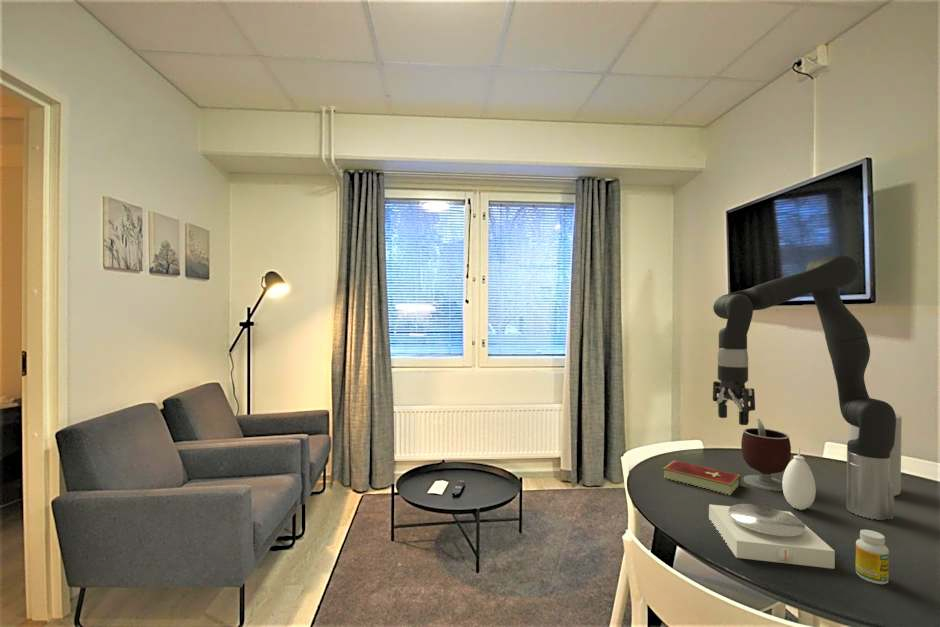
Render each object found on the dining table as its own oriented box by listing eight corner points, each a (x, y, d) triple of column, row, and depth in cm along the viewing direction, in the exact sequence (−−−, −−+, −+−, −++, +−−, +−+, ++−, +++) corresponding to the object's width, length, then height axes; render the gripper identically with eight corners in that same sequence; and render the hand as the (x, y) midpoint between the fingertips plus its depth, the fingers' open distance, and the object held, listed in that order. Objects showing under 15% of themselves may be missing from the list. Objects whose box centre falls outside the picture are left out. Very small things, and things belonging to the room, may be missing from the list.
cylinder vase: (898, 500, 136) (899, 419, 136) (845, 488, 146) (846, 412, 145) (902, 490, 144) (903, 413, 144) (852, 479, 154) (853, 407, 154)
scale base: (789, 526, 119) (790, 511, 119) (836, 570, 99) (836, 552, 99) (708, 518, 123) (709, 504, 123) (737, 559, 103) (737, 541, 103)
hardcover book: (674, 470, 162) (674, 459, 162) (740, 486, 147) (740, 474, 147) (662, 479, 153) (662, 467, 153) (731, 497, 139) (731, 484, 139)
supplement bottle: (860, 567, 100) (860, 525, 100) (892, 579, 95) (892, 535, 95) (851, 575, 97) (852, 531, 97) (884, 588, 92) (884, 542, 92)
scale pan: (785, 510, 117) (785, 507, 117) (819, 540, 102) (819, 537, 102) (719, 504, 121) (719, 501, 121) (742, 532, 105) (742, 529, 105)
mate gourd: (797, 494, 140) (798, 431, 140) (747, 488, 145) (747, 427, 145) (780, 477, 155) (781, 420, 155) (735, 472, 159) (736, 417, 159)
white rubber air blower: (787, 512, 128) (787, 449, 128) (778, 501, 135) (779, 442, 135) (819, 516, 125) (820, 453, 125) (809, 505, 132) (810, 445, 132)
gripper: (763, 367, 120) (764, 427, 120) (727, 361, 134) (728, 415, 134) (738, 367, 119) (738, 428, 119) (704, 361, 133) (704, 415, 133)
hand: (732, 421), depth 126 cm, fingers open, 8 cm apart
